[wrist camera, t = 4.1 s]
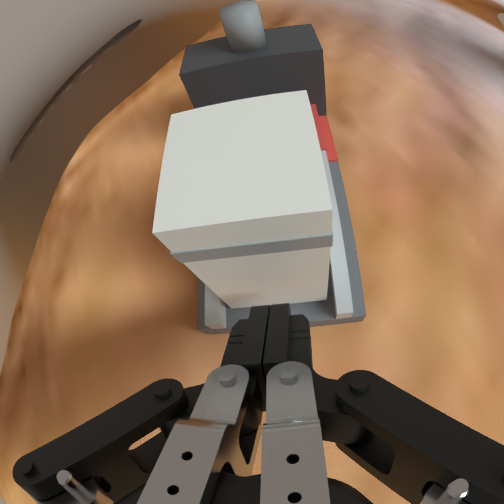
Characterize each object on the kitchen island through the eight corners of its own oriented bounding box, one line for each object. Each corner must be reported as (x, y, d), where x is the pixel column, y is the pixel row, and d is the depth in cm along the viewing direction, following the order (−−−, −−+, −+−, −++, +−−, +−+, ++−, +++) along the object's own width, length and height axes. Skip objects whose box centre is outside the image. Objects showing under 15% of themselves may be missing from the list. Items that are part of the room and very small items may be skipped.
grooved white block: (327, 300, 16) (334, 211, 8) (230, 309, 17) (150, 234, 9) (316, 214, 18) (307, 89, 10) (230, 224, 19) (169, 114, 11)
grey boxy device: (362, 320, 17) (411, 241, 8) (207, 333, 18) (98, 275, 9) (317, 97, 25) (306, -13, 15) (214, 113, 26) (173, 12, 17)
